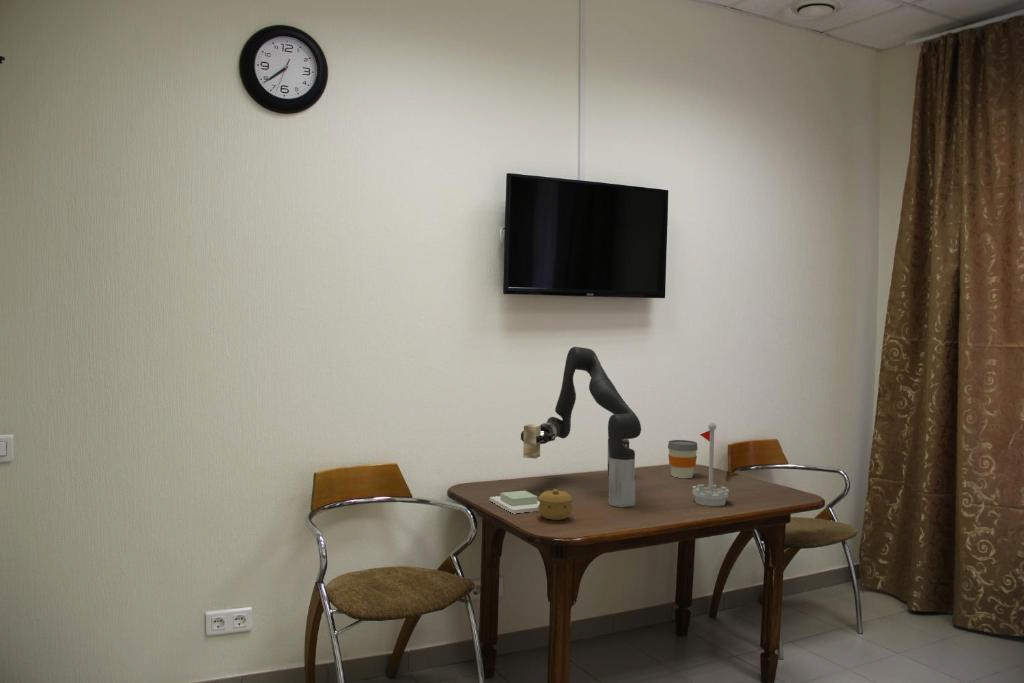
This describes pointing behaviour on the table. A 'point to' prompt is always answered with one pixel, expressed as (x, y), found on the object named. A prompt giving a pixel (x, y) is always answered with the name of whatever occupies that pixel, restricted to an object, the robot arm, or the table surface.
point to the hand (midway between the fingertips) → (530, 439)
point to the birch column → (531, 441)
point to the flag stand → (710, 479)
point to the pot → (555, 504)
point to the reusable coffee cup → (682, 458)
